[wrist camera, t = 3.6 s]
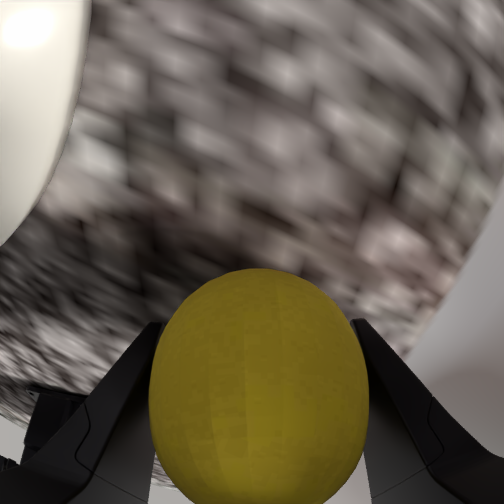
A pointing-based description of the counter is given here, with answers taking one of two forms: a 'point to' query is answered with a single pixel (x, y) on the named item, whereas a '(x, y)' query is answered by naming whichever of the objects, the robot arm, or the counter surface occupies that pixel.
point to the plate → (36, 96)
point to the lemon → (258, 392)
